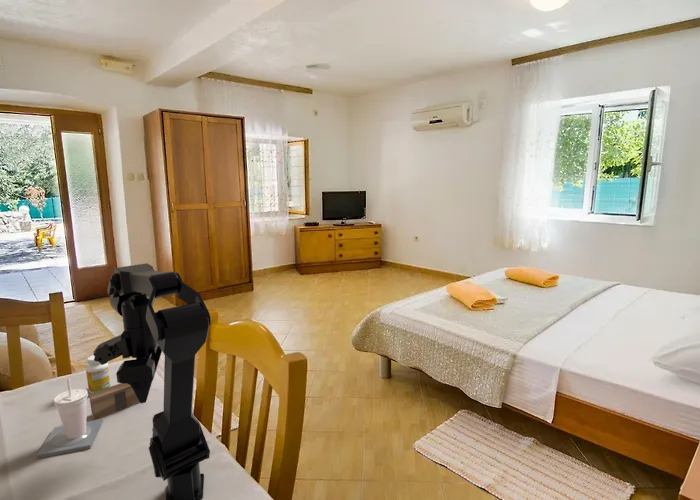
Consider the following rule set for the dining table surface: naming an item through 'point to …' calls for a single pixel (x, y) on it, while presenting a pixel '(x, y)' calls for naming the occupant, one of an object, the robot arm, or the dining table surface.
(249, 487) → the dining table surface
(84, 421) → the smoothie
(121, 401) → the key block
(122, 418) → the dining table surface
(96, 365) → the supplement bottle
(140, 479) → the dining table surface
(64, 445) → the coaster
